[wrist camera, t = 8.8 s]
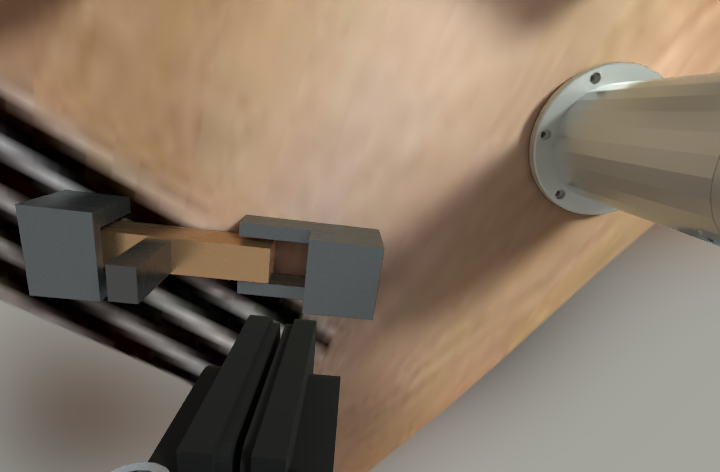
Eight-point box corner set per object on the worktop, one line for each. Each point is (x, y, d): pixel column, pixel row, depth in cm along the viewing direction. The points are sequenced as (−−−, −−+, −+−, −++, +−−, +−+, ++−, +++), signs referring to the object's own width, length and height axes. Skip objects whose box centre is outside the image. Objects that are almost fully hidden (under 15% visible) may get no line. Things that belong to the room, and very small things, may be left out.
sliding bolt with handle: (276, 237, 34) (255, 276, 26) (274, 269, 35) (253, 317, 27) (91, 217, 33) (9, 251, 25) (94, 251, 34) (16, 295, 26)
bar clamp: (379, 225, 34) (385, 244, 30) (368, 297, 37) (372, 326, 32) (65, 189, 32) (15, 204, 27) (74, 268, 34) (29, 295, 30)
